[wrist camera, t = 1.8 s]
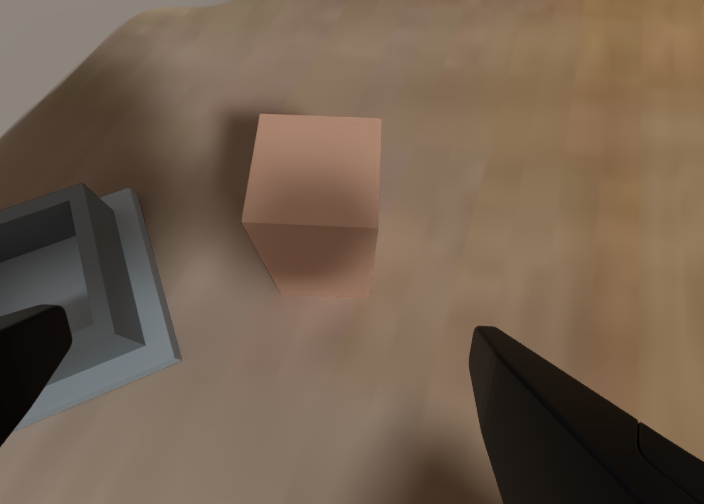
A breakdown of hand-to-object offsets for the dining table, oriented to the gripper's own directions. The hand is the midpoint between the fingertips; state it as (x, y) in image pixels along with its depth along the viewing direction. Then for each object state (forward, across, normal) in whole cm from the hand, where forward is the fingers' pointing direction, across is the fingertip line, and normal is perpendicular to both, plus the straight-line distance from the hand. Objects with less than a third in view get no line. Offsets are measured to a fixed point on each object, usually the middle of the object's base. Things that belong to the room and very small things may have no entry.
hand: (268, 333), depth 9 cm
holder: (+12, +15, +7) cm, 20 cm away
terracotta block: (+15, 0, +4) cm, 15 cm away
